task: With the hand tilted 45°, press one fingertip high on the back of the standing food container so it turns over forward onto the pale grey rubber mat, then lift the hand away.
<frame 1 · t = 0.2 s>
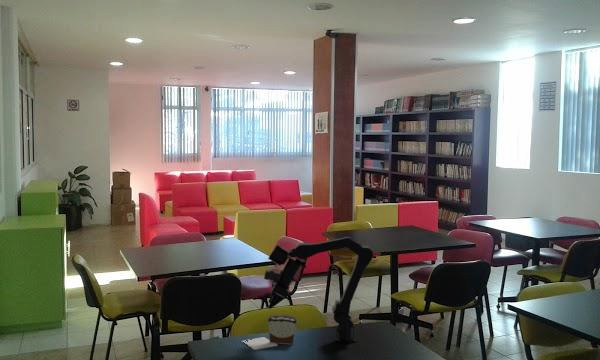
hand: (269, 305, 215), 15 cm above the table, tool tilted 30°, fingers open, 9 cm apart
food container: (282, 342, 215), on the table, touching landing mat
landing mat: (259, 343, 213), on the table
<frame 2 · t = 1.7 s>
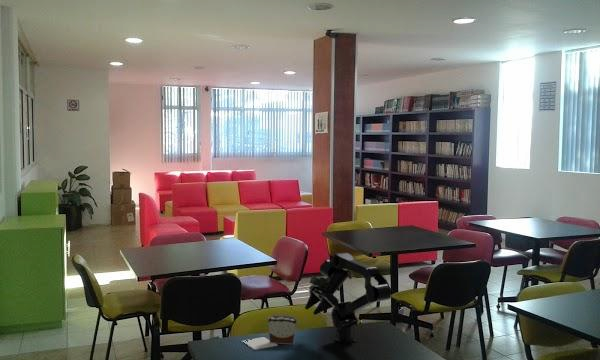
hand: (309, 311, 214), 12 cm above the table, tool tilted 45°, fingers open, 9 cm apart
nothing on the table moved.
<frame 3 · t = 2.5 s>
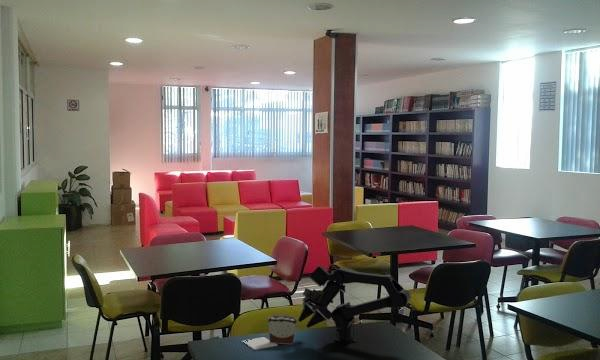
hand: (302, 324, 213), 8 cm above the table, tool tilted 45°, fingers open, 9 cm apart
nothing on the table moved.
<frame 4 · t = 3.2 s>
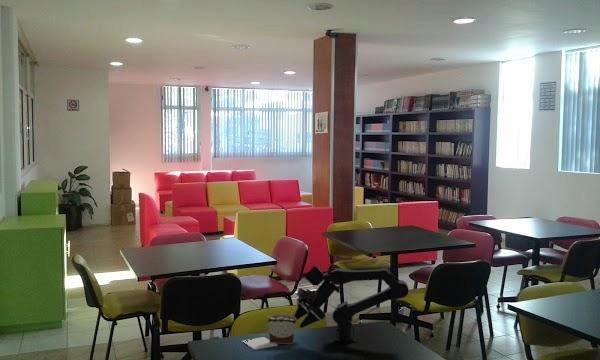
hand: (296, 324, 212), 8 cm above the table, tool tilted 45°, fingers open, 9 cm apart
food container: (282, 341, 215), on the table, touching gripper, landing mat
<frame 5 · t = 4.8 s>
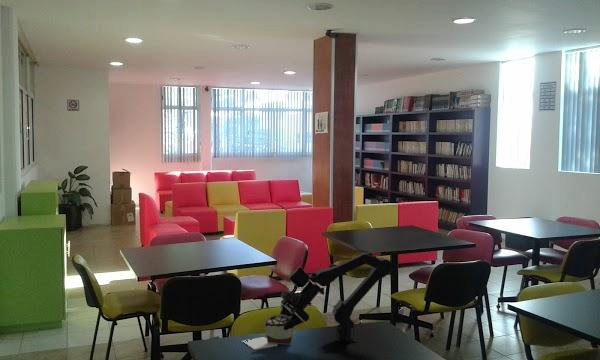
hand: (280, 326, 210), 8 cm above the table, tool tilted 45°, fingers open, 9 cm apart
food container: (280, 338, 214), point 1 cm above the table, touching gripper, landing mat
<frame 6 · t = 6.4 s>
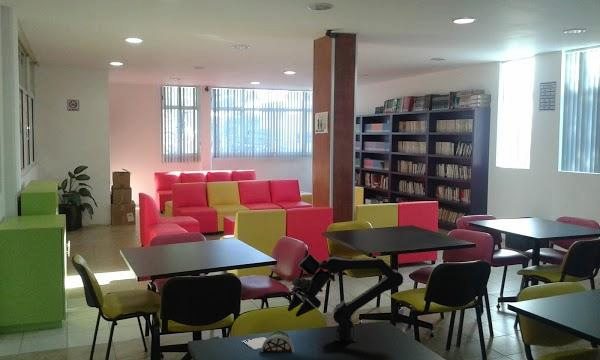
hand: (292, 313, 211), 12 cm above the table, tool tilted 45°, fingers open, 9 cm apart
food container: (279, 335, 211), point 3 cm above the table, touching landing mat
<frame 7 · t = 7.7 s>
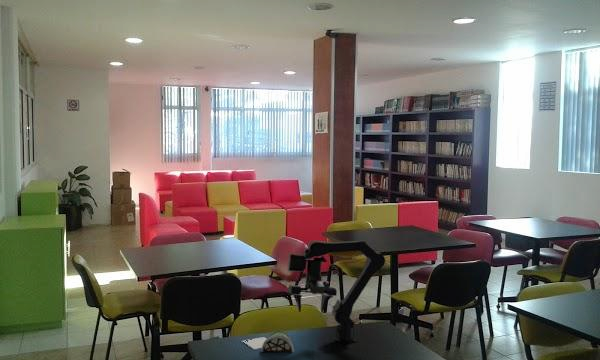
hand: (310, 312, 212), 12 cm above the table, tool pointing down, fingers open, 9 cm apart
nothing on the table moved.
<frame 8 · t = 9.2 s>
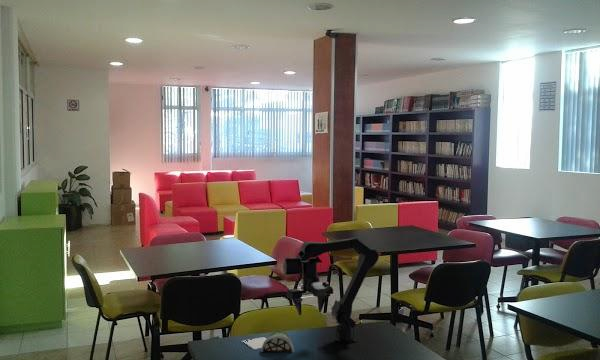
hand: (310, 313, 212), 12 cm above the table, tool pointing down, fingers open, 9 cm apart
nothing on the table moved.
at the end: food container tilted 92°; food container touching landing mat, table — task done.
